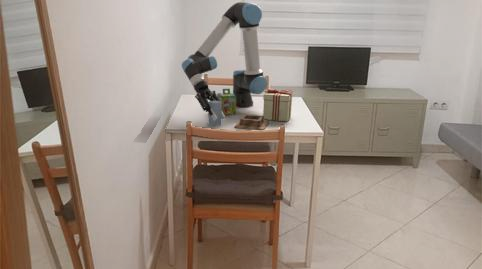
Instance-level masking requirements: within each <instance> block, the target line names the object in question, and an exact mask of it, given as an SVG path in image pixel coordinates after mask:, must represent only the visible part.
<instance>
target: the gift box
mask: <svg viewBox="0 0 482 269" xmlns="http://www.w3.org/2000/svg"><path fill="white" fill-rule="evenodd" d="M264 92H265V93H264V94H263V98H262V99H263V111H262V112H263V115H262V116H264V121H277V122H288V121H289V119H290V118H291V117H292V104H293V103H292V102H293V96H294V91H292V90H291V89H282V90H278V89H276V88H270V87H269V88H266V89H265V90H264Z"/></svg>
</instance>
